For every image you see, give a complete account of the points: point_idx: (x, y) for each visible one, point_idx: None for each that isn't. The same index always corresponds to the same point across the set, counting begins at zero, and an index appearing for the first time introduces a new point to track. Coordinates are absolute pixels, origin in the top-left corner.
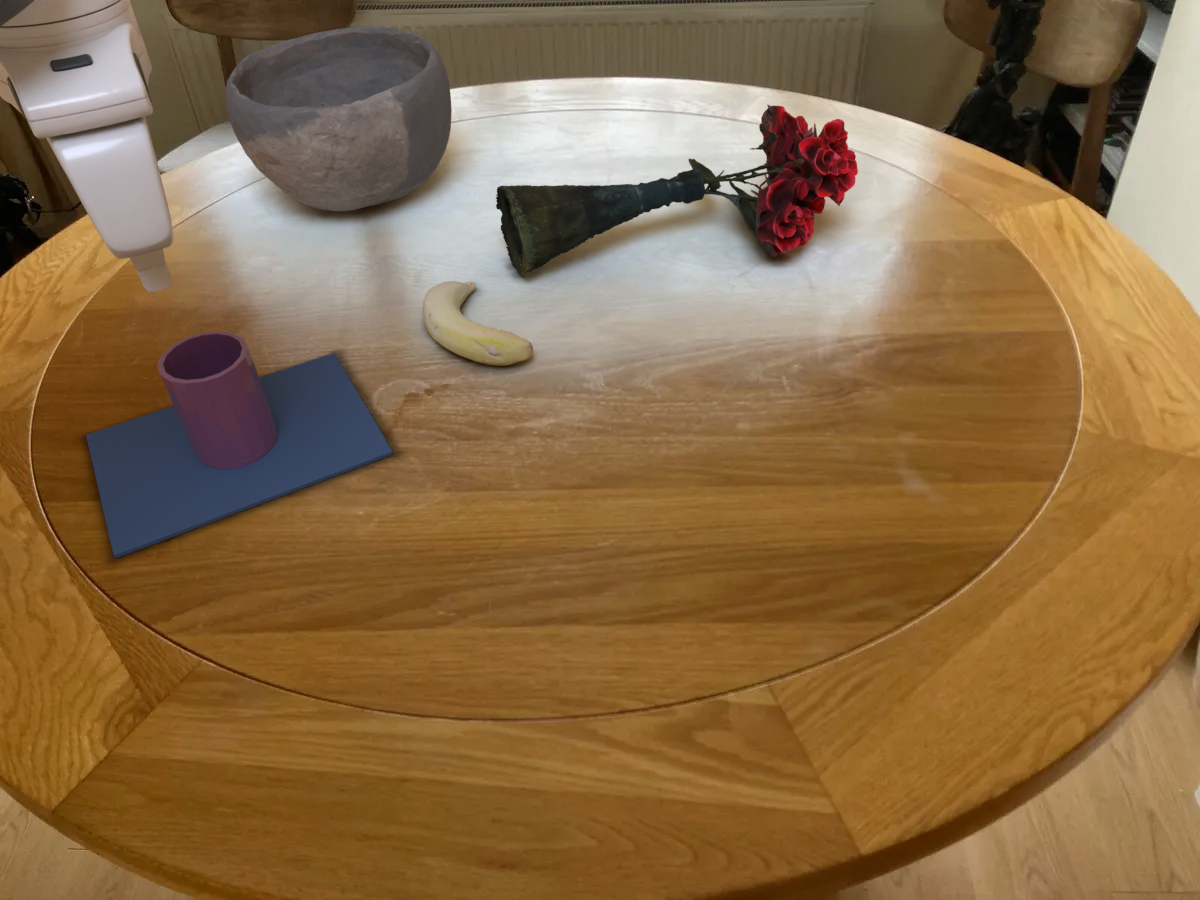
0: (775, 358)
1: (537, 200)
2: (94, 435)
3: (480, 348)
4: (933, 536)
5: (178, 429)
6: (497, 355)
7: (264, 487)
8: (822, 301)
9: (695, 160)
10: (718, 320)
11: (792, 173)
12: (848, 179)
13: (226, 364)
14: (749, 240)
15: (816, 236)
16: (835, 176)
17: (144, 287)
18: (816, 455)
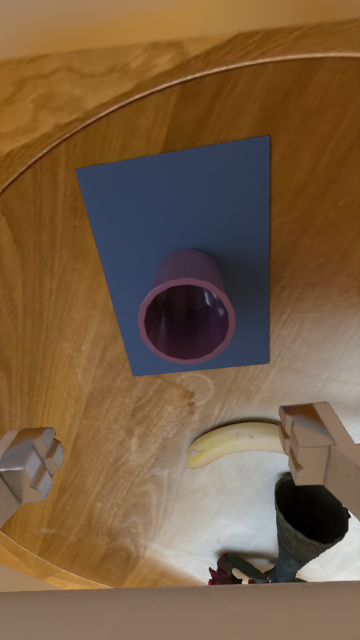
0: (143, 527)
1: (302, 546)
2: (263, 145)
3: (198, 448)
4: (15, 523)
5: (229, 234)
6: (190, 451)
7: (123, 296)
8: (178, 552)
9: None
10: (184, 523)
11: None
12: None
13: (220, 319)
14: (247, 552)
15: None
16: None
17: (4, 435)
18: (70, 515)
